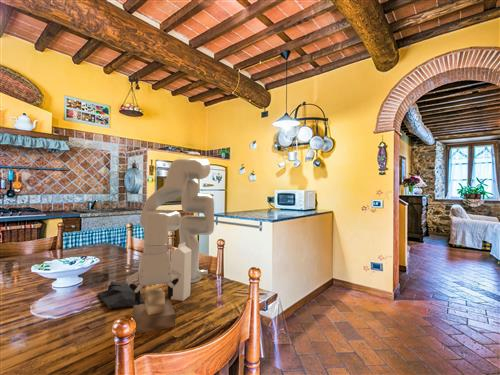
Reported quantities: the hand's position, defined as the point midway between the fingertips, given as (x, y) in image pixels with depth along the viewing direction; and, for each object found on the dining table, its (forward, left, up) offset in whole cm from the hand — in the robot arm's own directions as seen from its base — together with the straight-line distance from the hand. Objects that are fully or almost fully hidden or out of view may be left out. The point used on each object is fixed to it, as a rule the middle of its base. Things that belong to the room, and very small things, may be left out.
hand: (154, 301), depth 85 cm
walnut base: (0, 0, -7) cm, 7 cm away
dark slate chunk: (+10, -25, -7) cm, 28 cm away
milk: (-12, -17, -7) cm, 22 cm away
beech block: (0, +1, -3) cm, 3 cm away
